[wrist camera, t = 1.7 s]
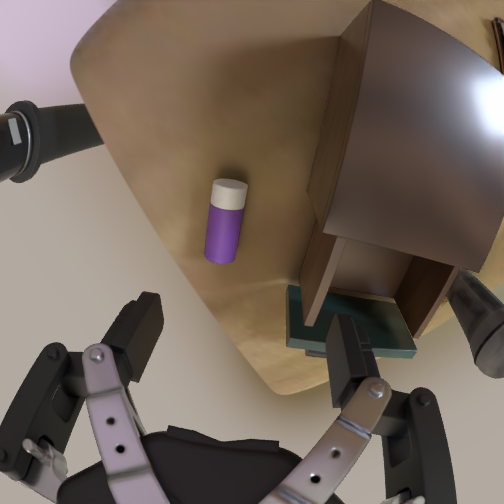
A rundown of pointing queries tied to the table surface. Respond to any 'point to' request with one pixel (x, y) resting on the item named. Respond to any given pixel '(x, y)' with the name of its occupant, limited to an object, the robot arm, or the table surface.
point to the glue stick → (224, 220)
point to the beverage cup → (479, 321)
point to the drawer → (367, 281)
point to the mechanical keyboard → (500, 39)
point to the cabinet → (411, 141)
